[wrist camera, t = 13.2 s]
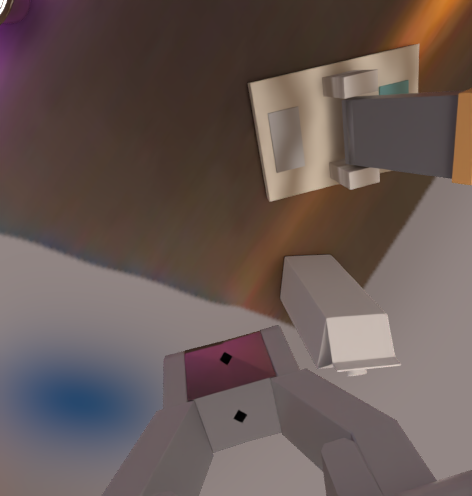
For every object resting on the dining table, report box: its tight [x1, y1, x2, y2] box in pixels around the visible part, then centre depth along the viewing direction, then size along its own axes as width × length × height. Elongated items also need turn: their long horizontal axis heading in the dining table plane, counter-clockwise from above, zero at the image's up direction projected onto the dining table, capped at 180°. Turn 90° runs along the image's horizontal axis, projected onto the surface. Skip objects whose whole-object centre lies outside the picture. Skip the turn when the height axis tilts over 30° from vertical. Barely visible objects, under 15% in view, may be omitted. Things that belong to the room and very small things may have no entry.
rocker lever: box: [342, 88, 472, 185], centre depth 35 cm, size 3×7×14 cm, turn 12°
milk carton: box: [280, 255, 401, 376], centre depth 45 cm, size 7×7×19 cm
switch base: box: [248, 44, 419, 202], centre depth 41 cm, size 20×14×7 cm
